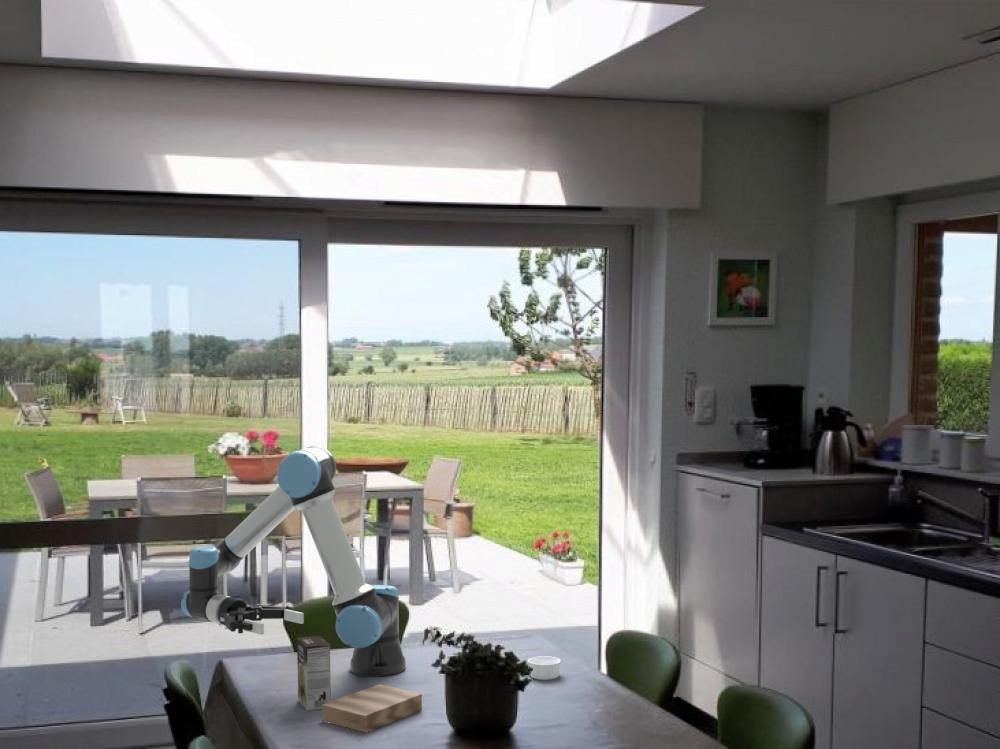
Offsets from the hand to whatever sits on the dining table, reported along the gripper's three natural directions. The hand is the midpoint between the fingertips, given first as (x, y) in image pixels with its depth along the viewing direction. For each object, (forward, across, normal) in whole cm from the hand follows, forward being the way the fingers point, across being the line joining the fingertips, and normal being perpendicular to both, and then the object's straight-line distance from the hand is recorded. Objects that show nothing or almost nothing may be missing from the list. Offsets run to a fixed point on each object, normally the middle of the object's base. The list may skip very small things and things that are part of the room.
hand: (283, 623), depth 303 cm
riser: (+29, -2, -18) cm, 34 cm away
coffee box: (+11, 0, -19) cm, 22 cm away
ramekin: (+44, -54, -18) cm, 71 cm away
